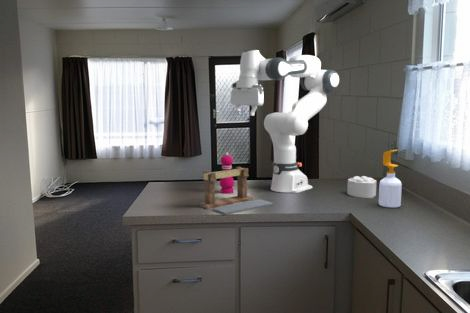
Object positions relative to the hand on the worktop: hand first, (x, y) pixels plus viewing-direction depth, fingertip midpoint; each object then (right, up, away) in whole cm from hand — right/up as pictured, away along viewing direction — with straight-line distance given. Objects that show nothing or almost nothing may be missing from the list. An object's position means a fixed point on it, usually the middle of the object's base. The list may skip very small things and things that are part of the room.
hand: (245, 115), depth 200 cm
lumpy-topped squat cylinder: (+56, -38, +10) cm, 68 cm away
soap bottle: (+63, -41, -10) cm, 75 cm away
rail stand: (-9, -40, -5) cm, 41 cm away
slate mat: (-1, -41, -13) cm, 43 cm away
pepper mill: (-9, -37, +17) cm, 41 cm away
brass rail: (-9, -28, -6) cm, 30 cm away
